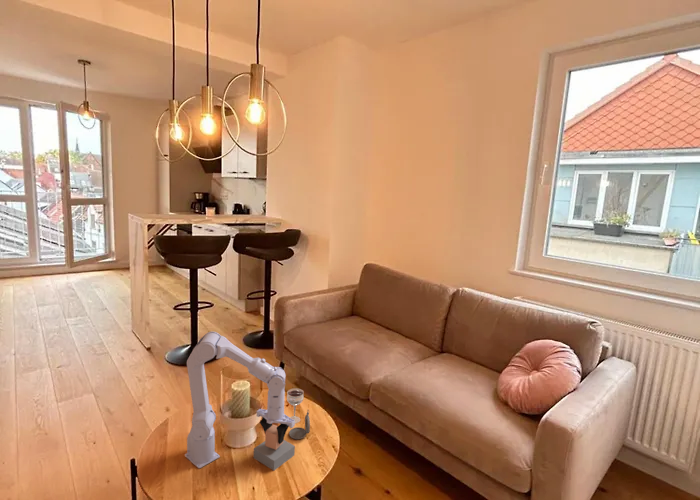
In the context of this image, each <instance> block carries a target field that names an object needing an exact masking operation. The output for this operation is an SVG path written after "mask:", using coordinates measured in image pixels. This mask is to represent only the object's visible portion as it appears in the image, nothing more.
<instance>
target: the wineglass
mask: <svg viewBox="0 0 700 500" xmlns="http://www.w3.org/2000/svg"><path fill="white" fill-rule="evenodd" d="M304 393H305V392H304V390H303V389H301V388H296V387H295V388H290V389H288V390H287V392H286V394H287V395H286V400H287V402H288V403H289V405H291V406H293V416H289V417H290V418H291V419H293V420H295V424H298V423H299V422H301V418H300V417H299V416H296V408H297V406H299V405H300V404H301V403H302V402H303V401H304V398H305V397H304Z"/></svg>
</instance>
